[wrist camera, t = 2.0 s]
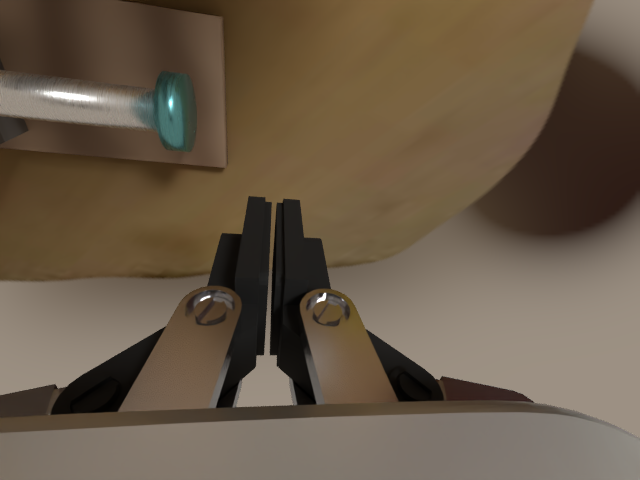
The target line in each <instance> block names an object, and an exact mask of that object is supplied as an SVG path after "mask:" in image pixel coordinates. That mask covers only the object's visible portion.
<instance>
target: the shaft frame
mask: <svg viewBox="0 0 640 480" xmlns="http://www.w3.org/2000/svg"><path fill="white" fill-rule="evenodd" d="M0 70H5V71H13V72H21V73H29V74H38V75H46V76H54V77H62V78H70V79H78V80H86V81H94V82H103V83H111V84H119V85H127V86H135V87H143V88H151V89H155V85H156V81H157V78H158V75H159V74H160V72H162V71H168V72H175V73H183V74H188V75H189V77H190V78H191V81H192V84H193V87H194V92H195V97H196V107H197V132H196V139H195V144H194V147H193V149H192V151H191V152H181V151H170V150H166V149H165V148H164V147H163V145H162V143H161V141H160V138H159V135H158V132H150V131H140V130H131V129H121V128H111V127H101V126H91V125H82V124H72V123H62V122H52V121H42V120H33V119H23V118H13V117H3V116H0V148H6V149H17V150H29V151H40V152H52V153H63V154H74V155H86V156H97V157H109V158H120V159H131V160H143V161H154V162H166V163H177V164H188V165H200V166H211V167H223V168H226V167H227V164H228V151H227V120H226V89H225V58H224V28H223V17H220V16H214V15H208V14H202V13H196V12H190V11H183V10H177V9H171V8H165V7H159V6H153V5H147V4H141V3H135V2H129V1H122V0H0Z"/></svg>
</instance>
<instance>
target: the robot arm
mask: <svg viewBox="0 0 640 480" xmlns="http://www.w3.org/2000/svg"><path fill="white" fill-rule="evenodd" d="M271 206H272V202H265V197H251V196H249V198H248V204H247V209H246V215H245V221H244V227H243V233H242V234H227V233H222V234H221V237H220V241H219V245H218V248H217V252H216V256H215V260H214V263H213V267H212V271H211V274H210V278H209V282H208V286H207V287H201V288H199V289H196V290H194V291H192V292H190V293H189V294H188V295H186V296H185V297H184V298H183V299H182V301H181V302H180V303H179V306H178V307H177V308H176V310H175V312H174V314H173V316H172V317H171V319H170V321H169V322H168V324H167V326H166V327H164V328H162V329H160V330H159V331H157V332H155V333H154V334H152V335H150V336H149V337H147V338H145V339H143V340H142V341H140V342H138V343H137V344H135V345H133V346H131V347H130V348H128V349H126V350H125V351H123V352H121V353H119V354H118V355H116V356H114V357H112V358H111V359H109V360H108V361H106V362H104V363H102V364H101V365H99V366H97V367H95V368H93V369H92V370H90V371H88V372H87V373H85V374H83V375H82V376H80V377H79V378H77V379H76V380H75V381H73V382H72V383H70V384H69V385H68V386H67V387H65V388H59V389H58V388H57V386H56V385H55V384H54V385H49V386H44V387H39V388H34V389H29V390H24V391H20V392H15V393H10V394H5V395H0V480H640V438H639V437H637V436H636V435H634V434H632V433H630V432H628V431H626V430H624V429H622V428H620V427H618V426H615V425H613V424H611V423H608V422H606V421H603V420H600V419H597V418H594V417H591V416H589V415H586V414H583V413H580V412H577V411H574V410H569V409H564V408H561V407H555V406H551V405H547V404H540V403H534V402H533V401H532V400H531V399H529V398H527V397H526V396H525V395H523V394H521V393H518V392H515V391H513V390H508V389H503V388H498V387H493V386H488V385H483V384H479V383H473V382H469V381H463V380H459V379H454V378H449V377H444V376H442V377H441V379H440V380H438V379H435V378H434V377H433V376H432V375H431V374H430V373H428V372H427V371H426V370H425V369H423V368H422V367H421V366H419V365H418V364H416V363H415V362H413V361H412V360H410V359H409V358H407V357H406V356H404V355H403V354H402V353H400V352H399V351H397V350H395V349H394V348H393V347H391V346H390V345H388V344H387V343H385V342H384V341H382V340H381V339H380V338H378V337H377V336H375V335H374V334H372V333H371V332H369V331H368V330H366V329H365V327H364V325H363V323H362V321H361V318H360V316H359V314H358V312H357V310H356V307H355V305H354V304H353V302H352V301H351V300H350V299H349V298H348V297H347V296H346V295H344V294H342V293H340V292H338V291H335V290H332V289H331V287H330V282H329V277H328V272H327V266H326V261H325V256H324V251H323V245H322V241H321V239H320V238H304V234H303V225H302V216H301V207H300V200H292V199H283V203H277V207H276V222H275V237H274V252H273V267H272V297H271V332H270V333H271V334H270V355H277V366H279V368H280V369H281V370H282V371H283V372H284V373H286V374H287V375H288V376H289V384H290V385H289V386H290V391H291V396H292V401H293V405H290V406H261V407H236V405H237V401H238V398H239V393H240V390H241V385H242V379H243V378H244V377H245V376H246V375H247V374H248V373H250V372H251V371H252V370H253V369H254V368H255V367H256V355H264V345H265V344H264V343H265V328H266V311H267V294H268V276H269V253H270V230H271Z"/></svg>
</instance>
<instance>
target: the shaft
mask: <svg viewBox="0 0 640 480" xmlns="http://www.w3.org/2000/svg"><path fill="white" fill-rule="evenodd" d="M0 116H3V117H13V118H23V119H33V120H42V121H52V122H62V123H72V124H82V125H91V126H101V127H111V128H121V129H131V130H140V131H150V132H158V135H159V138H160V141H161V143H162V145H163V147H164V148H165V149H166V150H170V151H181V152H191V151H192V149H193V147H194V144H195V139H196V132H197V107H196V97H195V92H194V87H193V84H192V81H191V78H190V77H189V75H188V74H183V73H175V72H168V71H162V72H160V74H159V75H158V78H157V81H156V85H155V89H151V88H143V87H135V86H127V85H119V84H111V83H103V82H94V81H86V80H78V79H70V78H62V77H54V76H46V75H38V74H29V73H21V72H13V71H5V70H0Z"/></svg>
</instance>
